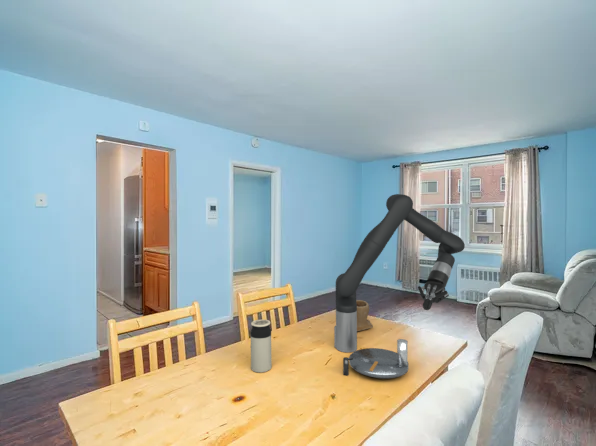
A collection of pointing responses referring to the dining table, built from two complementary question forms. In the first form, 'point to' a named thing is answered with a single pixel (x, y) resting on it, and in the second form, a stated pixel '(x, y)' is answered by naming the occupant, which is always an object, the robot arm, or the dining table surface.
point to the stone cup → (363, 315)
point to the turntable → (381, 361)
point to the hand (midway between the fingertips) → (425, 308)
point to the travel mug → (261, 346)
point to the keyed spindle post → (346, 365)
